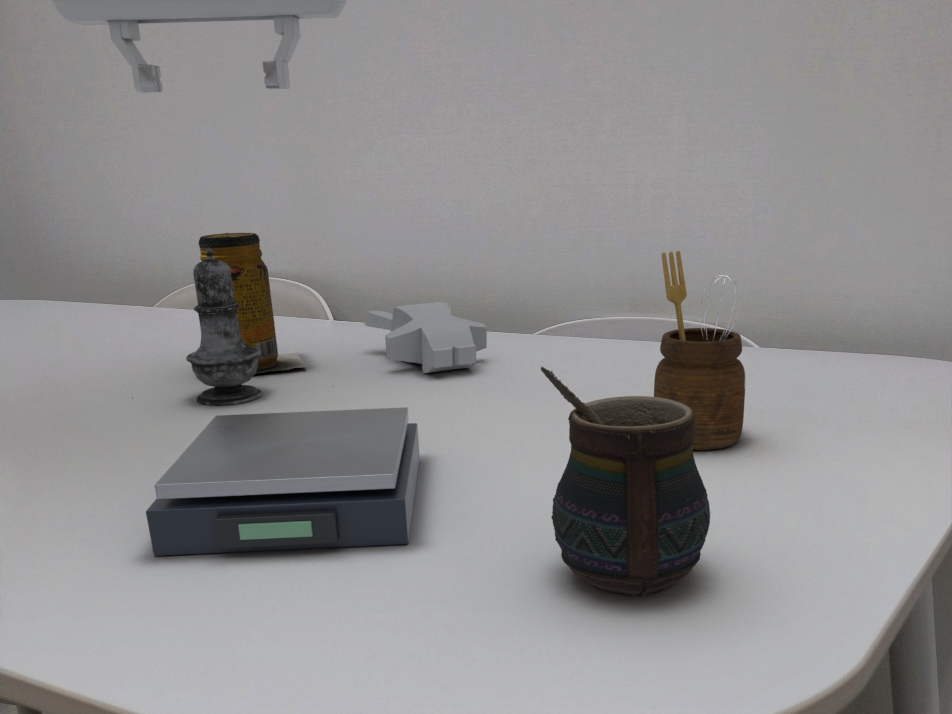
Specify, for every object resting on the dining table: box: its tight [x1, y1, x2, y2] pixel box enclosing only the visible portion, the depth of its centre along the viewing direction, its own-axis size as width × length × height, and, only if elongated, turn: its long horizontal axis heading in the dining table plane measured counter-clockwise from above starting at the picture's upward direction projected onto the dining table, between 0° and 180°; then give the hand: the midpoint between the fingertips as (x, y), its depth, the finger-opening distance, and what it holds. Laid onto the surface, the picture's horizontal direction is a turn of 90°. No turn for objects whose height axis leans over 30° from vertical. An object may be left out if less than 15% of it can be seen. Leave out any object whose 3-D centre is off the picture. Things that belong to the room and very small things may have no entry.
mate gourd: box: [540, 366, 712, 598], centre depth 44 cm, size 7×8×10 cm
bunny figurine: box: [364, 301, 488, 374], centre depth 90 cm, size 10×5×15 cm
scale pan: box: [154, 407, 410, 500], centre depth 55 cm, size 12×13×1 cm
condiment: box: [198, 232, 307, 375], centre depth 88 cm, size 7×8×12 cm
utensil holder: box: [653, 250, 746, 451], centre depth 63 cm, size 6×6×12 cm
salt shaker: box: [185, 247, 263, 406], centre depth 78 cm, size 6×6×12 cm
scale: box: [145, 422, 421, 557], centre depth 55 cm, size 13×15×2 cm
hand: (213, 90), depth 71 cm, fingers open, 8 cm apart
